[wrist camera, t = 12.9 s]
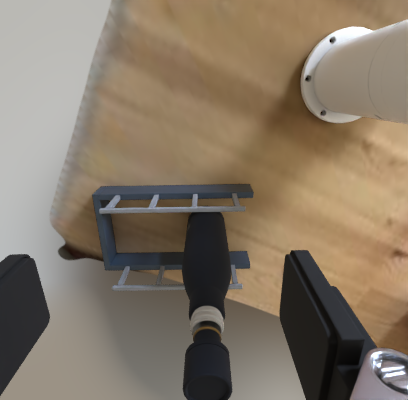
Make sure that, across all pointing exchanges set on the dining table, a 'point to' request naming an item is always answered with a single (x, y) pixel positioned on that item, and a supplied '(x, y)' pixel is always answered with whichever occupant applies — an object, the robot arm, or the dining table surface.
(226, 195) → the dish rack
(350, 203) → the dining table surface
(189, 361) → the dark blue bottle
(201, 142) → the dining table surface
